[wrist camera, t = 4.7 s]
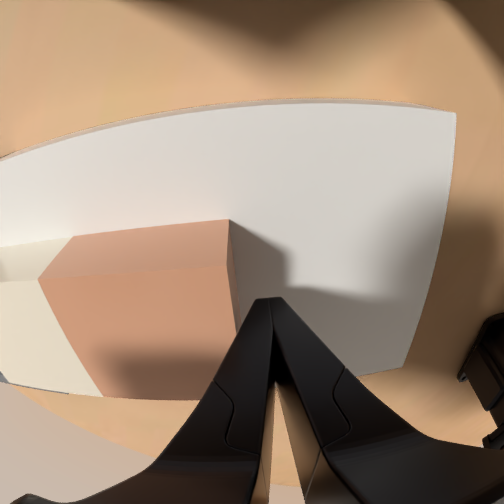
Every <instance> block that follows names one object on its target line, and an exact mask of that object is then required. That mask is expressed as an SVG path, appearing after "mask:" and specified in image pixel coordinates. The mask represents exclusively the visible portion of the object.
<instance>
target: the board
mask: <svg viewBox="0 0 504 504" xmlns="http://www.w3.org/2000/svg"><path fill="white" fill-rule="evenodd" d="M455 133H456V113H454V112H450V111H446V110H442V109H437V108H433V107H429V106H424V105H419V104H414V103H408V102H398V101H386V100H370V99H345V98H298V99H273V100H257V101H244V102H233V103H223V104H214V105H206V106H198V107H191V108H184V109H178V110H172V111H166V112H160V113H155V114H149V115H144V116H139V117H134V118H129V119H125V120H120V121H116V122H112V123H108V124H103V125H99V126H96V127H92V128H88V129H84V130H81V131H77V132H74V133H70V134H67V135H63V136H60V137H57V138H54V139H50V140H47V141H44V142H41V143H38V144H35V145H32V146H30V147H27V148H24V149H21V150H19V151H16V152H14V153H12V154H9V155H7V156H5V157H3V158H1V159H0V247H6V246H12V245H19V244H26V243H32V242H39V241H46V240H53V239H61V238H68V237H73V236H78V235H86V234H94V233H102V232H110V231H118V230H126V229H135V228H144V227H153V226H162V225H171V224H181V223H191V222H201V221H212V220H223V219H229V223H230V232H231V241H232V249H233V257H234V266H235V274H236V282H237V290H238V298H239V306H240V314H241V321H242V323H243V321H244V319H245V317H246V315H247V314H248V312H249V310H250V308H251V306H252V304H253V302H254V300H255V299H257V298H269V297H282V298H283V299H284V300H285V301H286V302H287V303H288V304H289V305H290V306H291V308H292V309H293V310H294V311H295V312H296V313H297V314H298V315H299V316H300V317H301V318H302V320H303V321H304V322H305V323H306V324H307V325H308V326H309V327H310V328H311V329H312V330H313V332H314V333H315V334H316V335H317V336H318V337H319V338H320V339H321V340H322V341H323V342H324V344H325V345H326V346H327V347H328V348H329V349H330V350H331V351H332V352H333V353H334V354H335V355H336V357H337V358H338V359H339V360H340V361H341V362H342V363H343V364H344V365H345V368H348V369H349V370H350V372H351V373H352V374H353V375H354V376H355V377H357V376H362V375H367V374H372V373H377V372H382V371H387V370H391V369H396V368H400V367H403V364H404V362H405V359H406V357H407V354H408V351H409V348H410V346H411V343H412V340H413V337H414V334H415V332H416V329H417V326H418V323H419V320H420V316H421V313H422V310H423V307H424V304H425V300H426V297H427V293H428V290H429V286H430V283H431V279H432V275H433V271H434V267H435V263H436V259H437V255H438V250H439V246H440V241H441V236H442V231H443V226H444V221H445V216H446V210H447V204H448V198H449V191H450V184H451V176H452V167H453V158H454V147H455ZM275 388H277V386H276V382H275Z"/></svg>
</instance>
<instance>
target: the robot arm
mask: <svg viewBox="0 0 504 504" xmlns="http://www.w3.org/2000/svg"><path fill="white" fill-rule="evenodd" d="M457 379H458V381H459V382H463V381H466V380H469V382H470V383H471V385H472V387H473V389H474V391H475V393H476V395H477V396H478V398H479V400H480V402H481V404H482V406H483V408H484V410H485V411H490V413H491V415H492V417H493V419H494V421H495V423H496V425H497V427H498V428H497V429H496V430H495V431H494V432H492V433H491V434H488V435H487V436H486V437H484V438H483V439H482V442H483V446H484V448H481V447H475V446H469V445H463V444H457V443H452V442H447V441H442V440H437V439H434V438H431V437H429V436H427V435H425V434H423V433H421V432H420V431H418V430H417V429H415V428H414V427H413V426H411V425H410V424H409V423H408V422H406V421H405V420H404V419H403V418H401V417H400V416H399V415H398V414H397V413H395V412H394V411H393V410H392V409H390V408H389V407H388V406H387V405H385V404H384V403H383V402H382V401H381V400H379V399H378V398H377V397H376V396H375V395H374V394H373V393H371V392H370V391H369V390H368V389H367V388H366V387H365V386H364V385H363V384H362V383H361V382H360V381H359V380H358V379H357V378H356V377H355V376H354V375H353V374H352V373H351V372H350V370H349V369H348V368H345V365H344V364H343V363H342V362H341V361H340V360H339V359H338V358H337V357H336V355H335V354H334V353H333V352H332V351H331V350H330V349H329V348H328V347H327V346H326V345H325V344H324V342H323V341H322V340H321V339H320V338H319V337H318V336H317V335H316V334H315V333H314V332H313V330H312V329H311V328H310V327H309V326H308V325H307V324H306V323H305V322H304V321H303V320H302V318H301V317H300V316H299V315H298V314H297V313H296V312H295V311H294V310H293V309H292V308H291V306H290V305H289V304H288V303H287V302H286V301H285V300H284V299H283V298H282V297H269V298H257V299H255V300H254V302H253V304H252V306H251V308H250V310H249V312H248V314H247V315H246V317H245V319H244V321H243V323H242V325H241V327H240V329H239V331H238V332H237V334H236V336H235V338H234V340H233V342H232V344H231V346H230V348H229V349H228V351H227V353H226V355H225V357H224V359H223V361H222V362H221V364H220V366H219V368H218V370H217V372H216V374H215V375H214V377H213V379H212V380H213V381H211V382H210V384H209V386H208V388H207V390H206V392H205V393H204V395H203V397H202V398H201V400H200V402H199V403H198V405H197V407H196V408H195V409H194V411H193V412H192V414H191V415H190V416H189V418H188V419H187V421H186V422H185V423H184V425H183V426H182V427H181V428H180V430H179V431H178V432H177V434H176V435H175V436H174V437H173V439H172V440H171V441H170V443H169V444H168V445H167V446H166V448H165V449H164V450H163V451H162V453H161V454H160V455H159V456H158V458H157V459H156V460H155V461H154V462H153V463H152V464H151V465H150V466H149V467H147V468H146V469H145V470H143V471H142V472H140V473H138V474H137V475H135V476H133V477H131V478H129V479H127V480H125V481H122V482H120V483H118V484H116V485H114V486H112V487H110V488H108V489H105V490H103V491H101V492H99V493H96V494H94V495H92V496H89V497H87V498H85V499H82V500H79V501H76V502H69V503H58V502H53V501H50V500H47V499H44V498H42V497H39V496H37V495H33V494H25V495H24V496H22V497H20V498H18V499H16V500H14V501H13V502H12V503H10V504H268V503H269V489H270V475H271V459H272V442H273V424H274V404H275V382H276V386H277V390H278V394H279V398H280V402H281V406H282V411H283V415H284V419H285V423H286V427H287V431H288V435H289V439H290V444H291V448H292V452H293V456H294V460H295V464H296V468H297V472H298V476H299V480H300V484H301V488H302V492H303V496H304V500H305V504H504V313H502V314H499V315H496V316H493V317H490V318H489V319H487V320H486V322H485V323H484V325H483V327H482V330H481V332H480V334H479V336H478V338H477V340H476V342H475V344H474V346H473V348H472V350H471V352H470V354H469V356H468V358H467V360H466V361H465V363H464V365H463V367H462V369H461V370H460V372H459V374H458V376H457Z"/></svg>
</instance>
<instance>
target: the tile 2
mask: <svg viewBox="0 0 504 504" xmlns="http://www.w3.org/2000/svg"><path fill="white" fill-rule="evenodd" d="M37 280H38V282H39V284H40V286H41V288H42V290H43V293H44V295H45V297H46V299H47V301H48V303H49V305H50V307H51V309H52V311H53V313H54V315H55V317H56V319H57V321H58V323H59V325H60V326H61V328H62V330H63V332H64V334H65V336H66V337H67V339H68V341H69V343H70V345H71V346H72V348H73V350H74V351H75V353H76V355H77V356H78V358H79V360H80V361H81V363H82V365H83V366H84V368H85V369H86V371H87V373H88V374H89V376H90V377H91V379H92V380H93V382H94V383H95V385H96V386H97V388H98V389H99V391H100V392H101V394H102V395H103V397H114V398H128V399H148V400H201V398H202V397H203V395H204V393H205V392H206V390H207V388H208V386H209V384H210V382H211V381H213V380H212V379H213V377H214V375H215V374H216V372H217V370H218V368H219V366H220V364H221V362H222V361H223V359H224V357H225V355H226V353H227V351H228V349H229V348H230V346H231V344H232V342H233V340H234V338H235V336H236V334H237V332H238V331H239V329H240V327H241V325H242V321H241V314H240V306H239V298H238V290H237V282H236V274H235V266H234V257H233V249H232V241H231V232H230V223H229V219H223V220H212V221H201V222H191V223H181V224H171V225H162V226H153V227H144V228H135V229H126V230H118V231H110V232H102V233H94V234H86V235H78V236H73V237H72V238H71V239H70V240H69V241H68V243H67V244H66V245H65V246H64V247H63V248H62V250H61V251H60V252H59V253H58V254H57V255H56V257H55V258H54V259H53V260H52V261H51V263H50V264H49V265H48V266H47V268H46V269H45V270H44V271H43V273H42V274H41V275H40V276H39V278H38V279H37Z"/></svg>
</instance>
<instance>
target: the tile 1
mask: <svg viewBox="0 0 504 504" xmlns="http://www.w3.org/2000/svg"><path fill="white" fill-rule="evenodd" d="M71 238H72V237H68V238H61V239H53V240H46V241H39V242H32V243H26V244H19V245H12V246H6V247H0V371H1V373H2V374H3V375H4V377H5V378H6V379H7V380H8V382H9V383H13V384H18V385H23V386H28V387H34V388H39V389H45V390H51V391H58V392H65V393H72V394H80V395H89V396H99V397H103V395H102V394H101V392H100V391H99V389H98V388H97V386H96V385H95V383H94V382H93V380H92V379H91V377H90V376H89V374H88V373H87V371H86V369H85V368H84V366H83V365H82V363H81V361H80V360H79V358H78V356H77V355H76V353H75V351H74V350H73V348H72V346H71V345H70V343H69V341H68V339H67V337H66V336H65V334H64V332H63V330H62V328H61V326H60V325H59V323H58V321H57V319H56V317H55V315H54V313H53V311H52V309H51V307H50V305H49V303H48V301H47V299H46V297H45V295H44V293H43V290H42V288H41V286H40V284H39V282H38V280H37V279H38V278H39V276H40V275H41V274H42V273H43V271H44V270H45V269H46V268H47V266H48V265H49V264H50V263H51V261H52V260H53V259H54V258H55V257H56V255H57V254H58V253H59V252H60V251H61V250H62V248H63V247H64V246H65V245H66V244H67V243H68V241H69V240H70V239H71Z"/></svg>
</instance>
